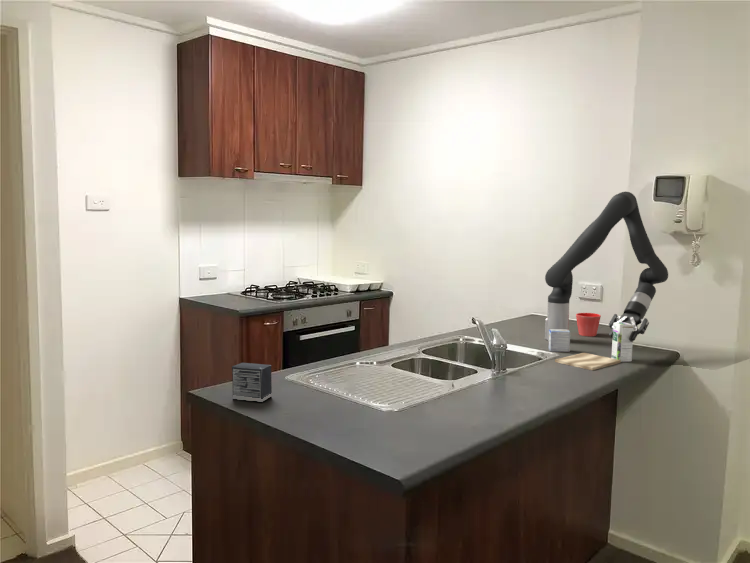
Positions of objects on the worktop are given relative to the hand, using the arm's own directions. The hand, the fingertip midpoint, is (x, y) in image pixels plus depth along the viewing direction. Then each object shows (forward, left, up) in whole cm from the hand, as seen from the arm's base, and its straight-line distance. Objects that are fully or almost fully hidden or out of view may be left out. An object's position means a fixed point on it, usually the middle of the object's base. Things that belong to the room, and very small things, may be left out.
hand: (620, 338), depth 237 cm
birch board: (-6, -12, -9) cm, 16 cm away
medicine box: (-25, -4, -9) cm, 27 cm away
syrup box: (0, +1, -9) cm, 9 cm away
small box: (-42, -135, -9) cm, 141 cm away
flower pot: (-37, +35, -9) cm, 52 cm away
